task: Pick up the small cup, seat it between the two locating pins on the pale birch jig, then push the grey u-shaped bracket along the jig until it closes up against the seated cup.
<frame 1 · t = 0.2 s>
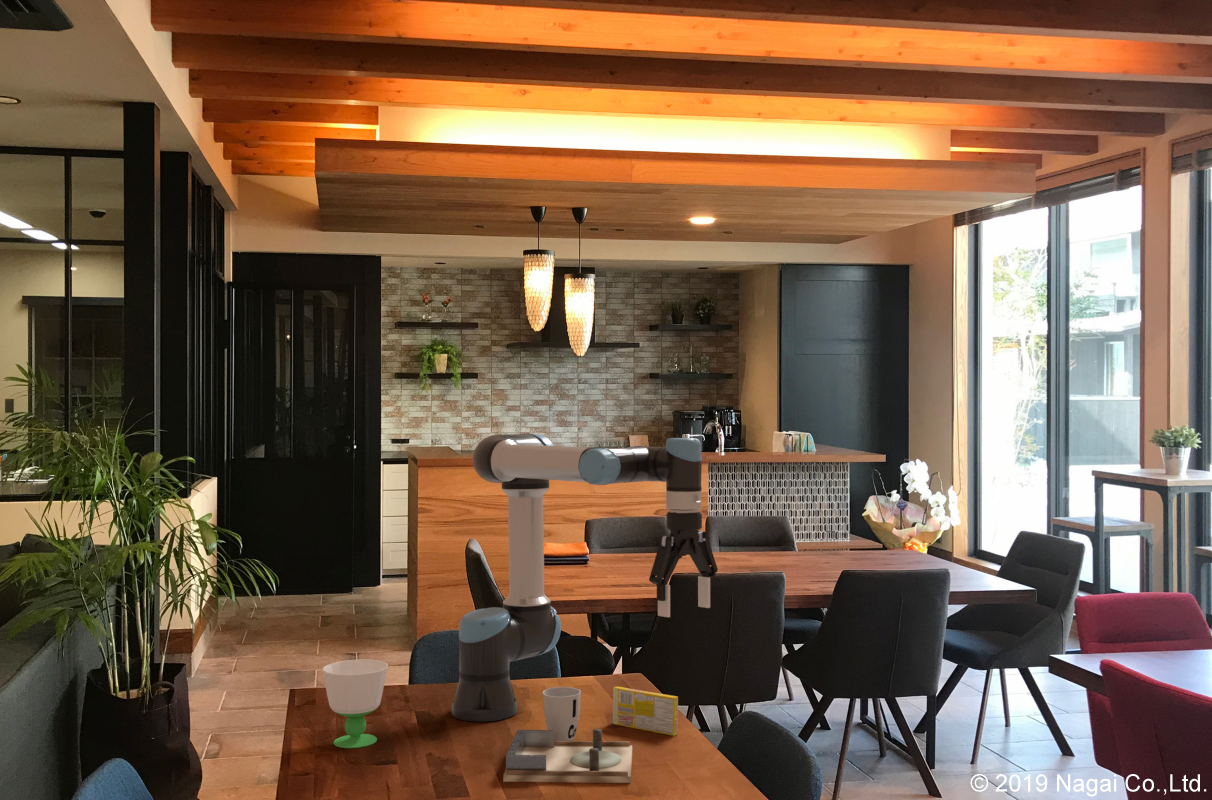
hand: (684, 611, 212), 28 cm above the table, fingers open, 13 cm apart
jig: (570, 765, 198), on the table
cup: (561, 739, 215), on the table
grey u-shaped bracket: (531, 750, 198), point 3 cm above the table, slide at 0.0 cm
cup 2: (355, 742, 214), on the table
candy box: (644, 730, 222), on the table
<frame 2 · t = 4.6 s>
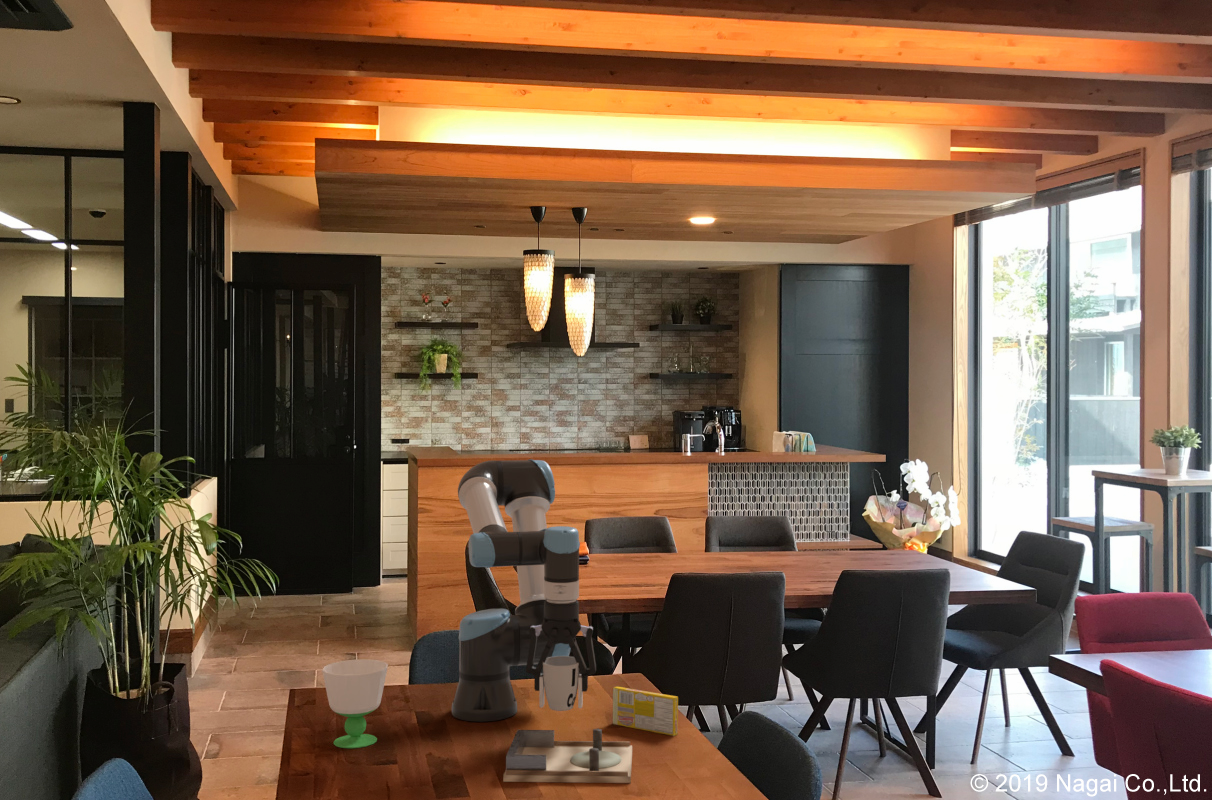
hand: (561, 705, 216), 7 cm above the table, fingers closed on cup, 8 cm apart
cup: (561, 708, 216), point 6 cm above the table, touching gripper
everything else where it was.
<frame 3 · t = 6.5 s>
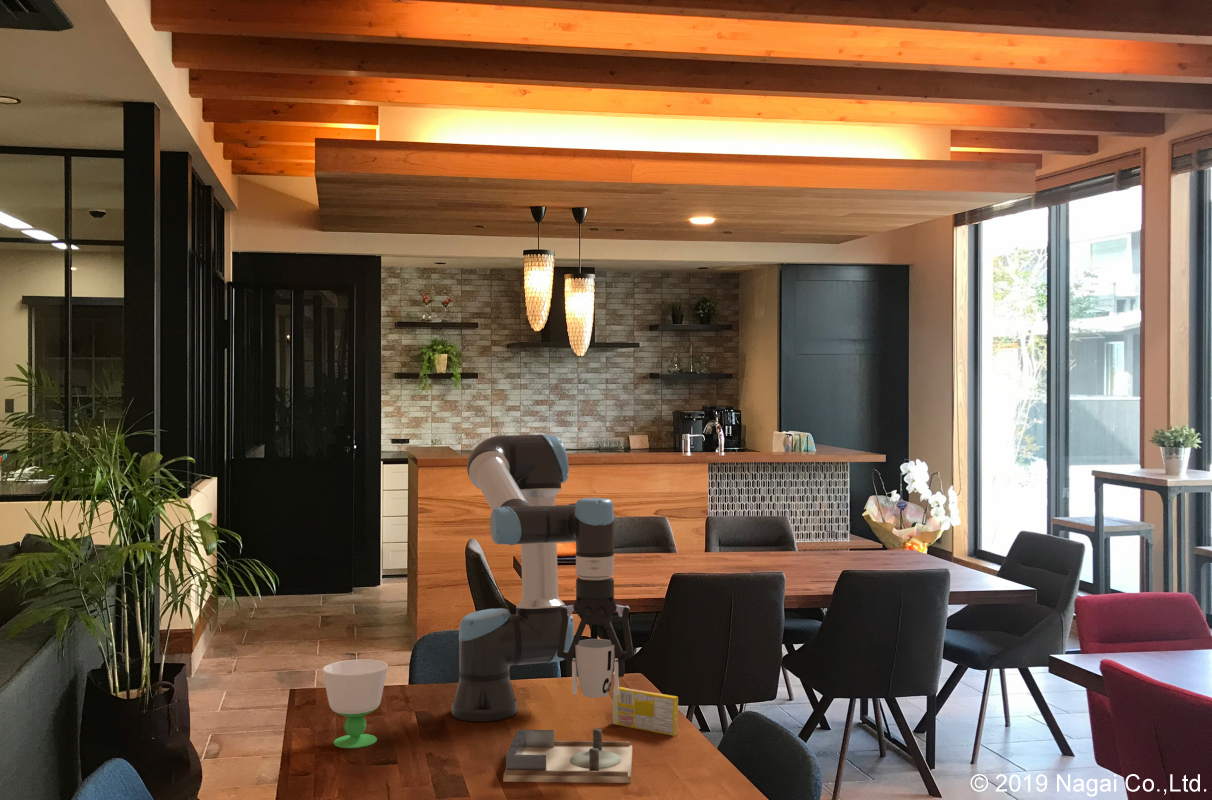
hand: (595, 693, 198), 14 cm above the table, fingers closed on cup, 8 cm apart
cup: (595, 695, 198), point 14 cm above the table, touching gripper
everything else where it was.
when the fingers open (3 cm above the table, at t = 8.5 s): cup stays where it is, resting on jig.
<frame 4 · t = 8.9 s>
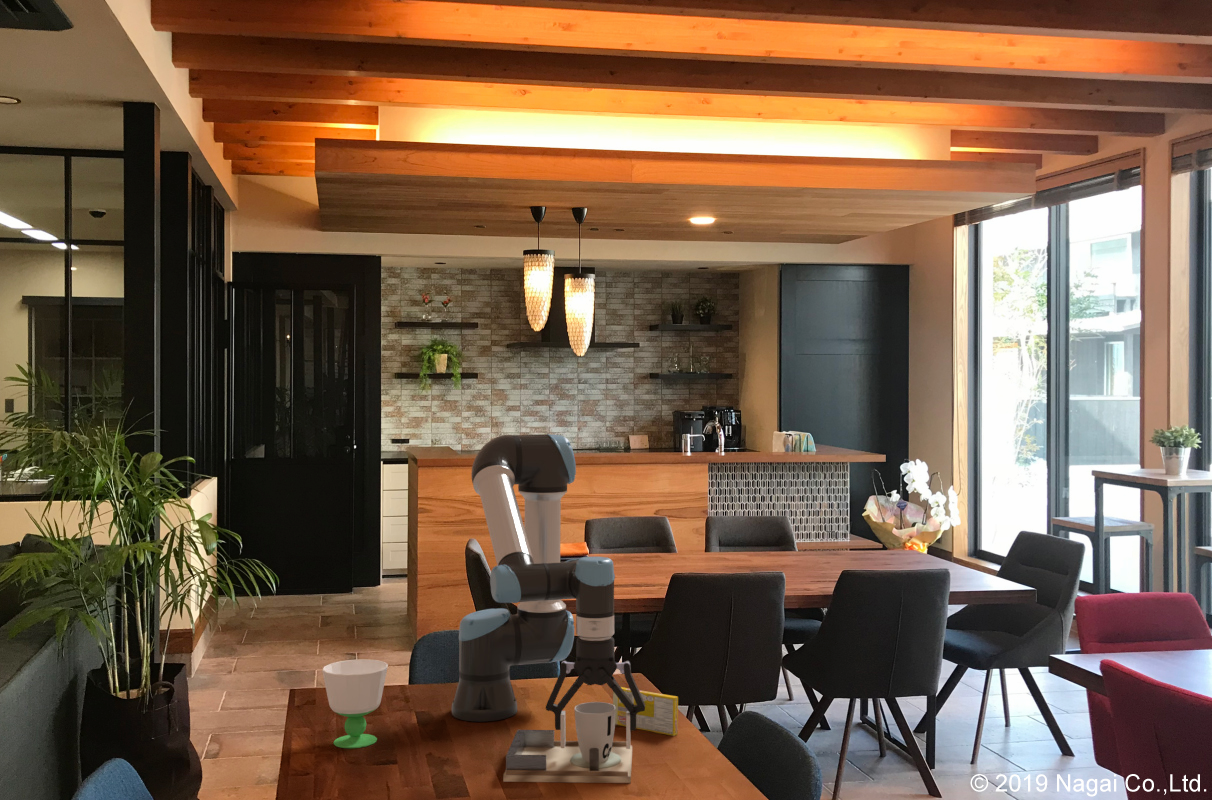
hand: (595, 746, 198), 4 cm above the table, fingers open, 12 cm apart
cup: (595, 759, 198), point 1 cm above the table, touching jig
everything else where it was.
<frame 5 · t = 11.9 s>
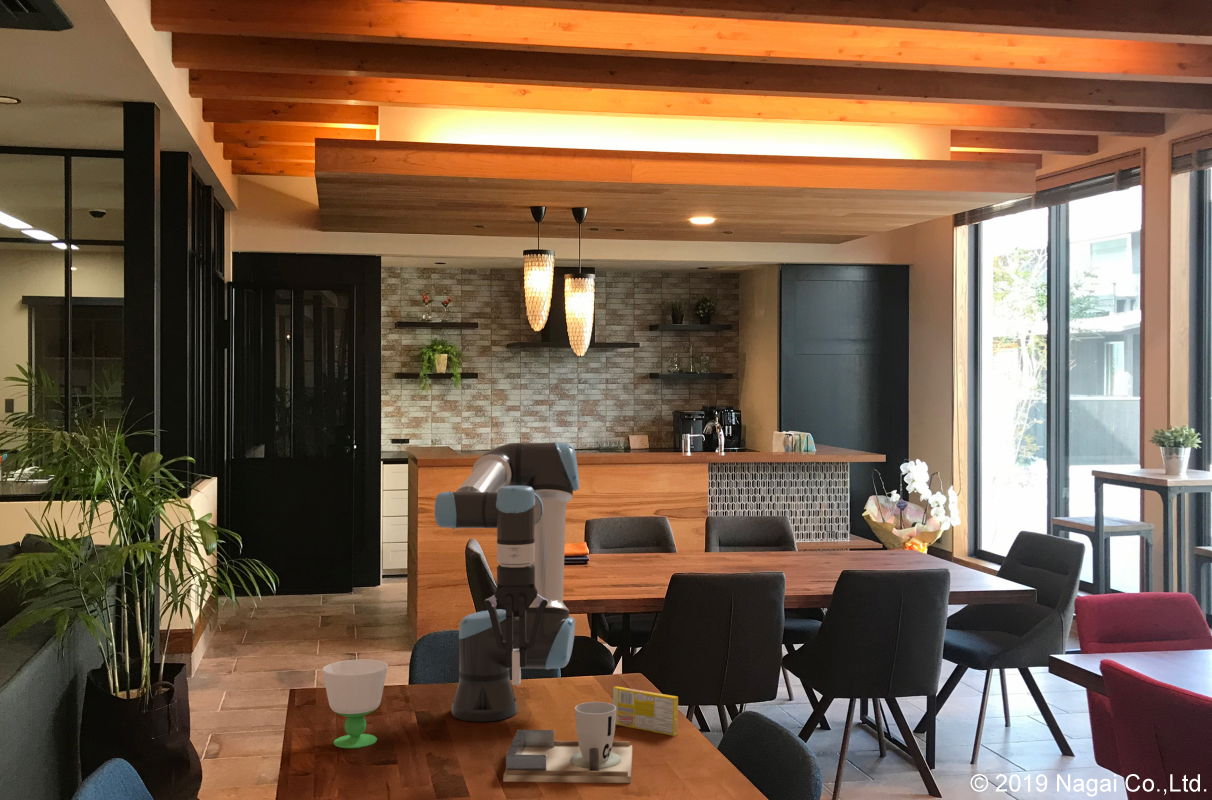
hand: (516, 683, 199), 16 cm above the table, fingers closed
nothing on the table moved.
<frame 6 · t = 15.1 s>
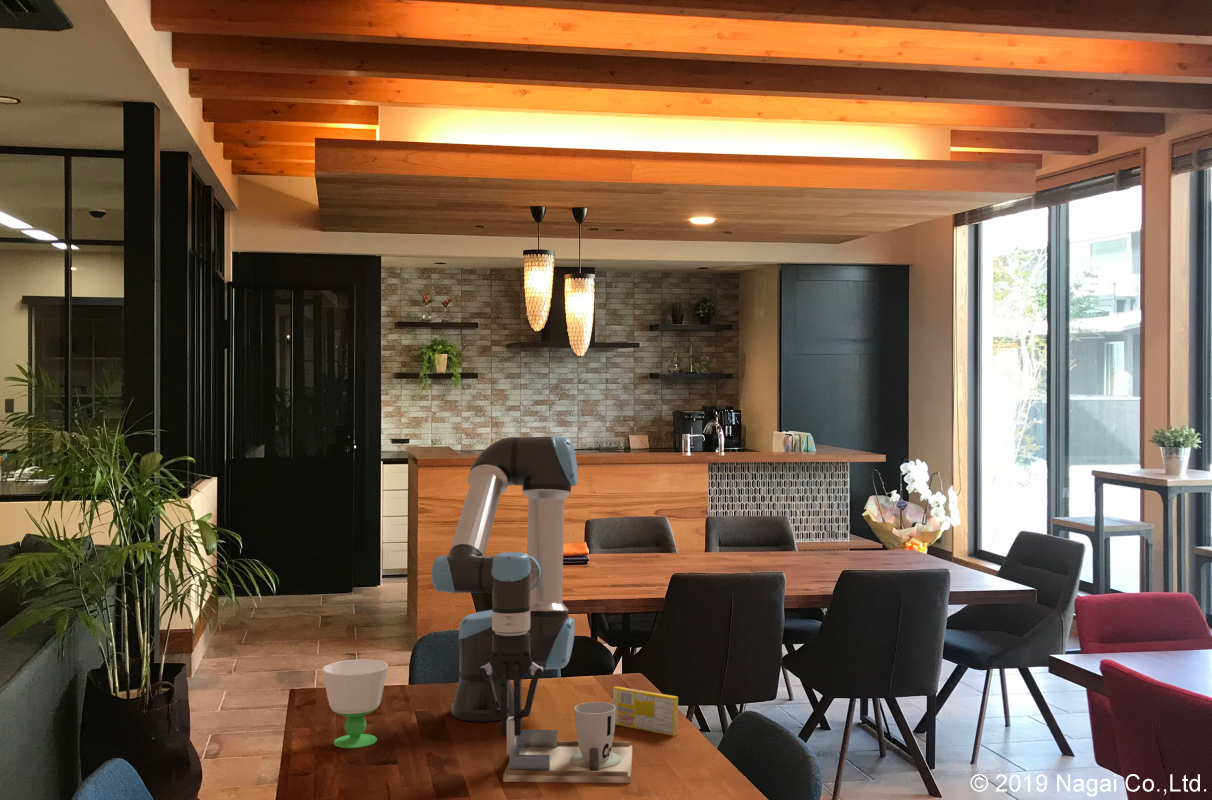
hand: (511, 751, 199), 3 cm above the table, fingers closed
grey u-shaped bracket: (534, 750, 198), point 3 cm above the table, slide at 0.7 cm, touching gripper
everything else where it was.
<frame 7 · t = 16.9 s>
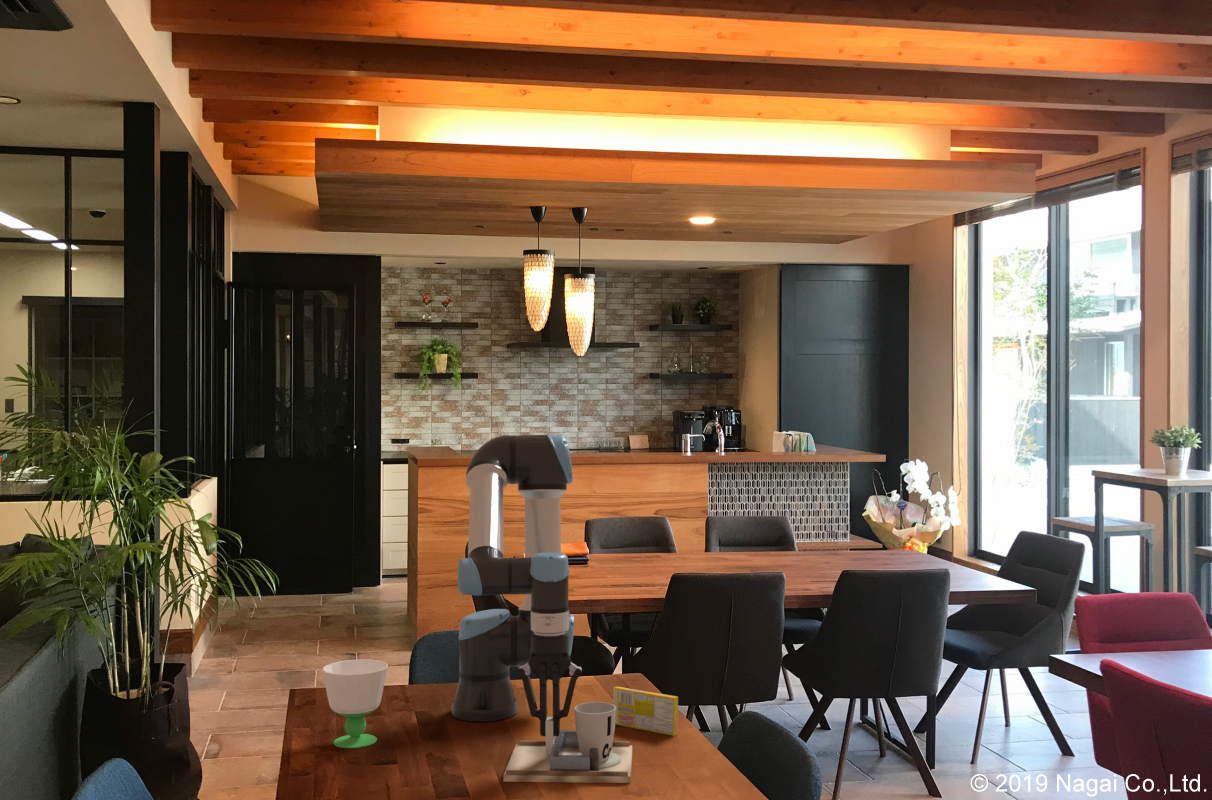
hand: (550, 752, 198), 3 cm above the table, fingers closed
grey u-shaped bracket: (573, 751, 198), point 3 cm above the table, slide at 8.3 cm, touching gripper
everything else where it was.
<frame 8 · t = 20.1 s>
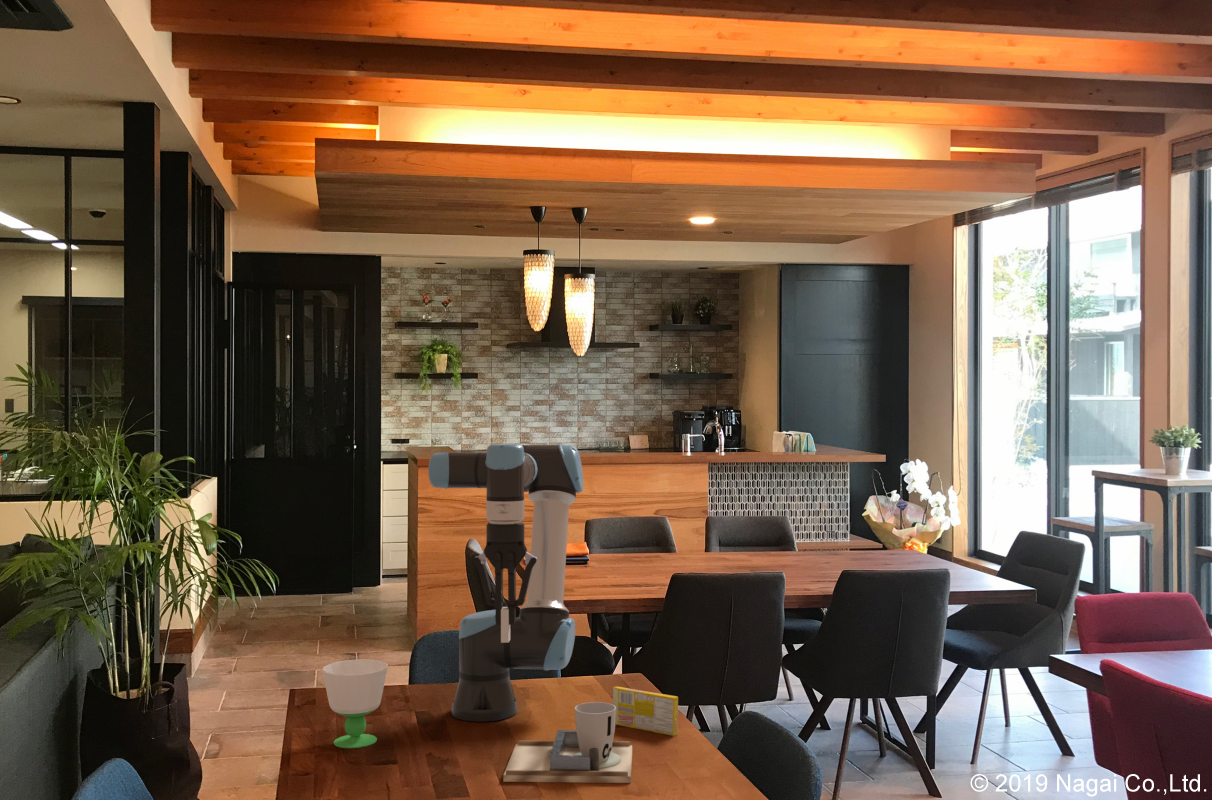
hand: (505, 640, 199), 24 cm above the table, fingers closed
grey u-shaped bracket: (573, 751, 198), point 3 cm above the table, slide at 8.3 cm
everything else where it was.
at the end: cup 0.1 cm from the target spot on the jig, point 1.2 cm above the jig's base; cup tilted 0°; grey u-shaped bracket slide at 8.3 cm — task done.
